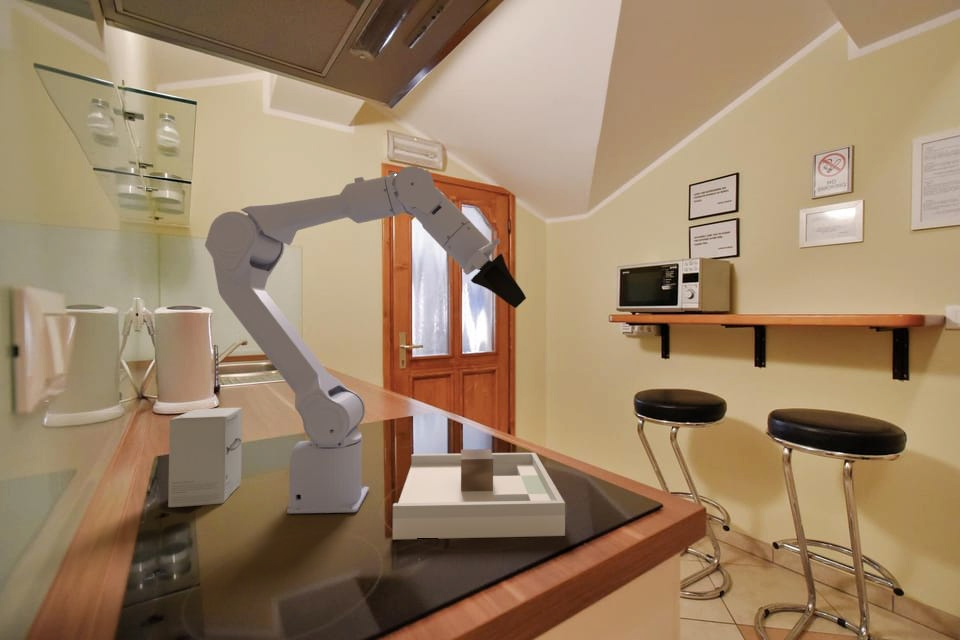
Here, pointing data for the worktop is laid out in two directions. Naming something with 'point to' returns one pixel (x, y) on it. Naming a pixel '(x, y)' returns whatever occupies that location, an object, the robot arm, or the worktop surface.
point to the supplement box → (204, 456)
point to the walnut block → (476, 470)
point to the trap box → (478, 500)
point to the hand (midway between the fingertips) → (520, 301)
